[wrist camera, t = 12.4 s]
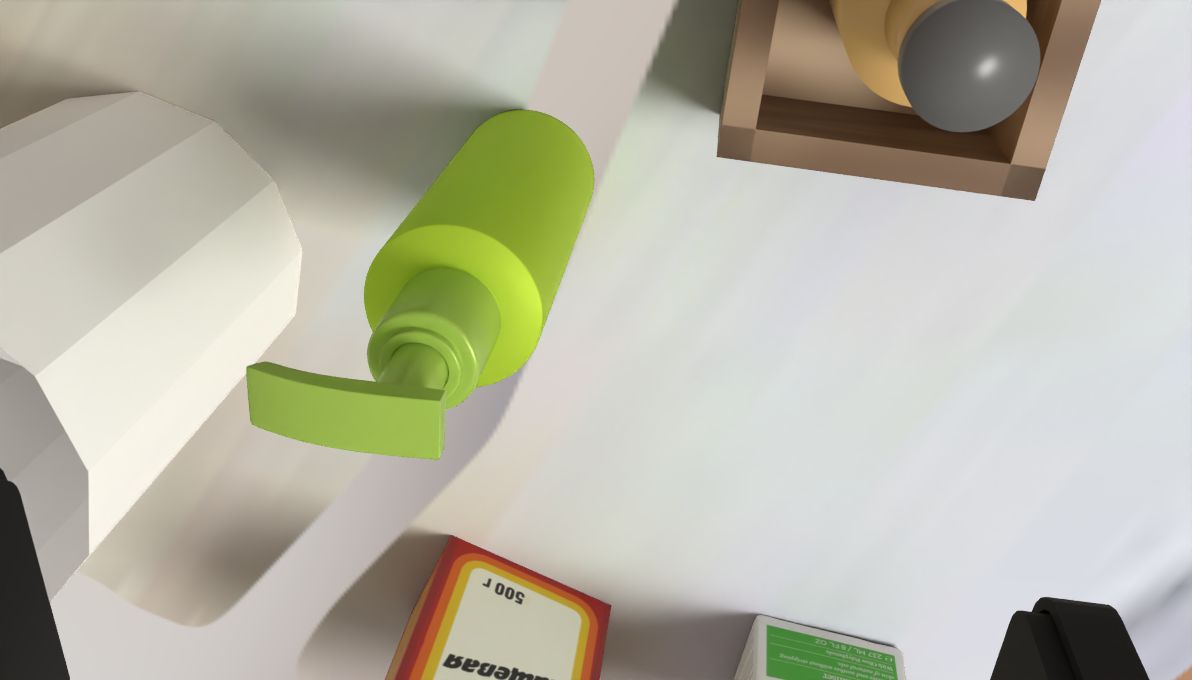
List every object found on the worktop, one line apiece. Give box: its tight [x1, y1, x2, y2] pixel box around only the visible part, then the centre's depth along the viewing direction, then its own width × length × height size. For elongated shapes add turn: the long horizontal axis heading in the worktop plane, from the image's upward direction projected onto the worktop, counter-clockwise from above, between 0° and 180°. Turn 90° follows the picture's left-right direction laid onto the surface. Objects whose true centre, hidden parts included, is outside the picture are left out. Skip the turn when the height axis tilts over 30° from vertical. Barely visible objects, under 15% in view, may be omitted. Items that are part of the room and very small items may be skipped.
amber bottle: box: [829, 0, 1040, 132], centre depth 31 cm, size 5×5×15 cm
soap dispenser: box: [246, 110, 594, 460], centre depth 35 cm, size 6×7×20 cm
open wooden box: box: [717, 0, 1101, 201], centre depth 36 cm, size 11×11×6 cm
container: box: [0, 91, 303, 602], centre depth 40 cm, size 14×14×18 cm
